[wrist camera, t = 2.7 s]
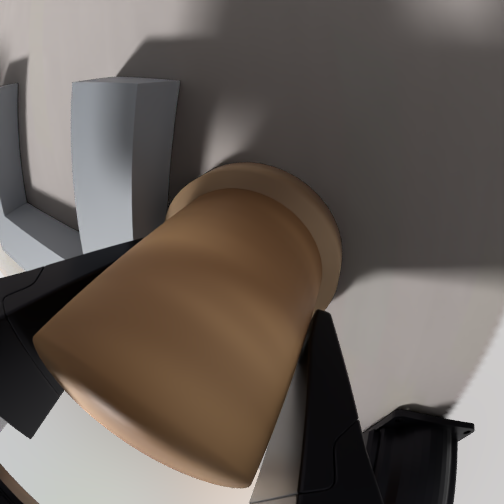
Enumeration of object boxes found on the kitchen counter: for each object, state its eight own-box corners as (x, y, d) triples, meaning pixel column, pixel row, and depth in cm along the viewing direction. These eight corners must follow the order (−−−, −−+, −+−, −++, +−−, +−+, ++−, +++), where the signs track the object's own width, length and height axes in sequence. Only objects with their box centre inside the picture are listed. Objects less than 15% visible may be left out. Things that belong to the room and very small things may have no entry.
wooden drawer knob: (371, 202, 8) (352, 468, 2) (307, 334, 11) (245, 501, 6) (186, 141, 9) (-19, 250, 3) (175, 279, 12) (68, 403, 7)
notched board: (180, 80, 8) (137, 83, 6) (166, 330, 15) (146, 356, 13) (1, 85, 10) (-23, 93, 9) (20, 237, 17) (2, 249, 16)
